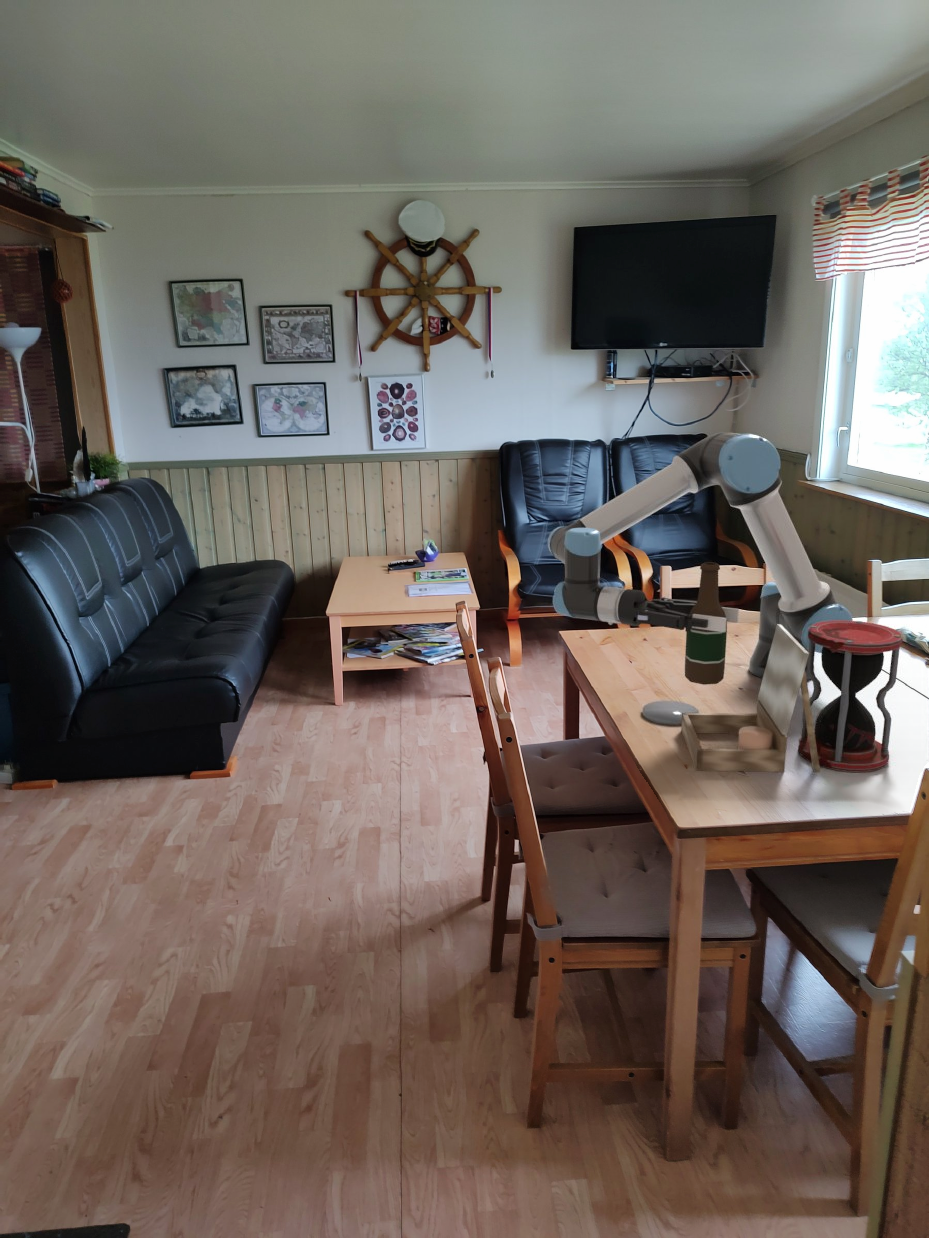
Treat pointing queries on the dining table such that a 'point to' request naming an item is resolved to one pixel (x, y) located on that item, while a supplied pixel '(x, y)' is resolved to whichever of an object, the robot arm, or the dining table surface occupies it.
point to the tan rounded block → (754, 738)
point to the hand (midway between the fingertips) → (731, 620)
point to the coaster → (667, 712)
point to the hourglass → (850, 694)
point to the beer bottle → (706, 633)
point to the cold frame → (759, 715)
